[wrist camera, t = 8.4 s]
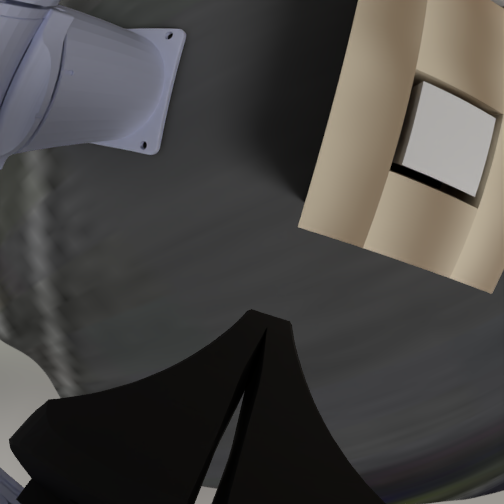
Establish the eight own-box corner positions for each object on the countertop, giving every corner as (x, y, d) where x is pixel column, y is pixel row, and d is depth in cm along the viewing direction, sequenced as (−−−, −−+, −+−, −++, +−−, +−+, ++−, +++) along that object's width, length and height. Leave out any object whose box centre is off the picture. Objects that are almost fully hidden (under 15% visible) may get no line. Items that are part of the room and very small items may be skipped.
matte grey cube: (379, 157, 15) (402, 164, 11) (396, 96, 14) (423, 81, 9) (437, 181, 15) (474, 197, 10) (454, 121, 13) (495, 118, 9)
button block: (304, 202, 17) (297, 226, 13) (374, -84, 9) (381, -127, 4) (457, 256, 16) (491, 293, 11) (509, -23, 8) (541, -48, 3)
